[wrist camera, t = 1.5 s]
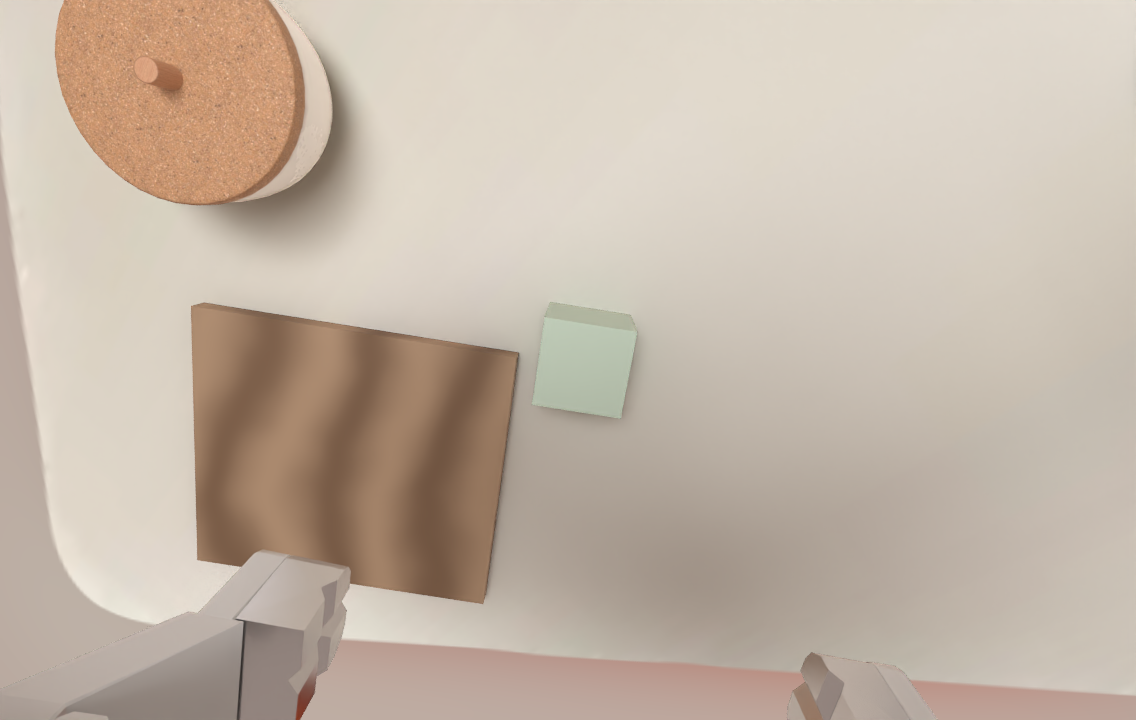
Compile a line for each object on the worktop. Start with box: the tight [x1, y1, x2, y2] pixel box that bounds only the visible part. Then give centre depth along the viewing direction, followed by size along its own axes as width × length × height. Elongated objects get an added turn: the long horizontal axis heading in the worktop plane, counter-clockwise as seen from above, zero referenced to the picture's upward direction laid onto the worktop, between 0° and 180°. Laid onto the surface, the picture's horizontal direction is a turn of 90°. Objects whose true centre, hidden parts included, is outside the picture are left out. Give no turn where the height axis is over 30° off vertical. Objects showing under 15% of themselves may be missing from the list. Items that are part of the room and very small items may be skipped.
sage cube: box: [532, 302, 637, 419], centre depth 33 cm, size 5×5×5 cm
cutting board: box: [191, 303, 519, 604], centre depth 37 cm, size 20×18×1 cm
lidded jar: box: [55, 0, 332, 205], centre depth 27 cm, size 11×11×9 cm
